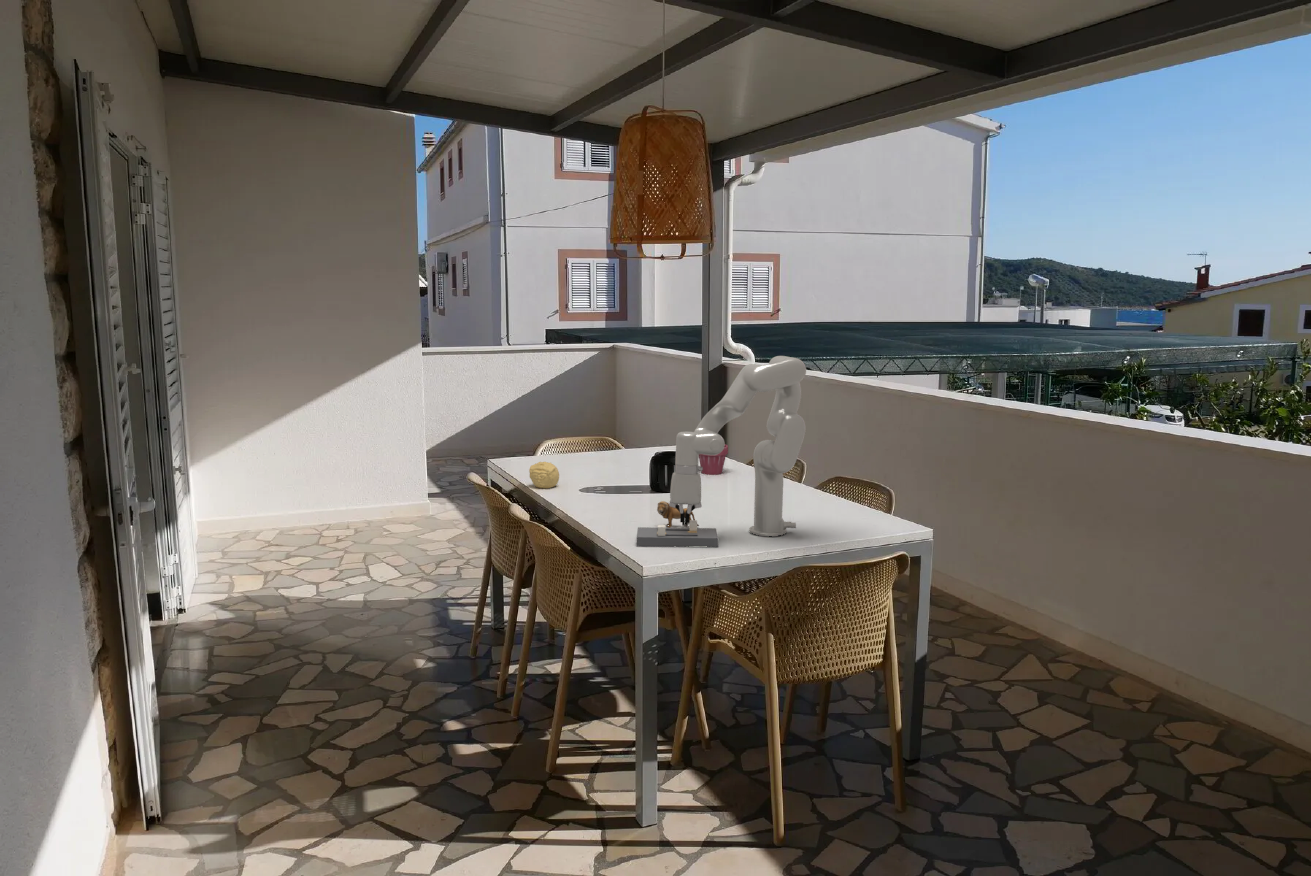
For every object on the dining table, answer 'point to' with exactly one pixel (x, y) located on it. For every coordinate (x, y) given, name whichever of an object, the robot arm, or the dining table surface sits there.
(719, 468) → the plant pot
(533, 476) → the sculpture
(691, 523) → the switch
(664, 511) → the lion figurine
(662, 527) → the switch
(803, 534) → the dining table surface
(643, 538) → the switch board
